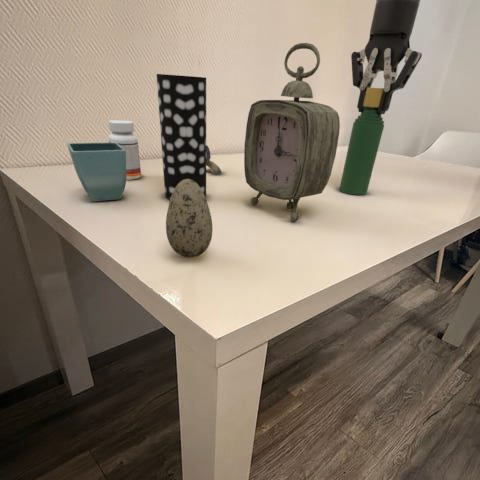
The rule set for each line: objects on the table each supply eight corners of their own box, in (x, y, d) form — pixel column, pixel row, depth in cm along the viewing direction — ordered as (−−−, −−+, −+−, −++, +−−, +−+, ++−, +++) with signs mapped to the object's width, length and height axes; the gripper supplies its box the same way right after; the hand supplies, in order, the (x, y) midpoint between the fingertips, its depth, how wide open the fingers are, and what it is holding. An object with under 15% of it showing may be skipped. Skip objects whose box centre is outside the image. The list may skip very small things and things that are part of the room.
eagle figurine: (179, 166, 85) (207, 165, 80) (185, 139, 85) (213, 136, 80) (198, 180, 92) (224, 179, 87) (203, 154, 91) (230, 152, 87)
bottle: (349, 186, 83) (371, 90, 72) (371, 192, 79) (398, 92, 68) (333, 189, 80) (354, 90, 68) (356, 196, 76) (382, 91, 64)
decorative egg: (191, 244, 49) (189, 171, 43) (221, 257, 46) (223, 180, 40) (158, 255, 45) (151, 177, 39) (188, 270, 42) (185, 188, 36)
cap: (359, 106, 69) (363, 87, 68) (368, 106, 72) (372, 87, 70) (377, 107, 67) (382, 88, 65) (386, 107, 70) (391, 88, 68)
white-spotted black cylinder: (214, 196, 69) (215, 78, 58) (189, 205, 63) (185, 75, 52) (182, 189, 72) (178, 75, 61) (156, 197, 66) (145, 73, 55)
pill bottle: (115, 174, 80) (106, 119, 73) (141, 174, 81) (135, 120, 75) (113, 180, 75) (104, 122, 68) (141, 180, 76) (135, 123, 70)
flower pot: (77, 193, 66) (66, 142, 60) (123, 190, 69) (116, 141, 64) (83, 206, 59) (71, 151, 54) (133, 202, 63) (126, 149, 58)
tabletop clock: (241, 204, 66) (250, 41, 51) (273, 198, 71) (290, 47, 56) (295, 227, 57) (325, 37, 43) (327, 218, 62) (364, 46, 48)
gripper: (445, 2, 59) (411, 116, 69) (371, 8, 66) (350, 110, 76) (430, -7, 54) (396, 116, 64) (352, 1, 62) (332, 110, 72)
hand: (371, 112), depth 70 cm, fingers closed on cap, 3 cm apart
